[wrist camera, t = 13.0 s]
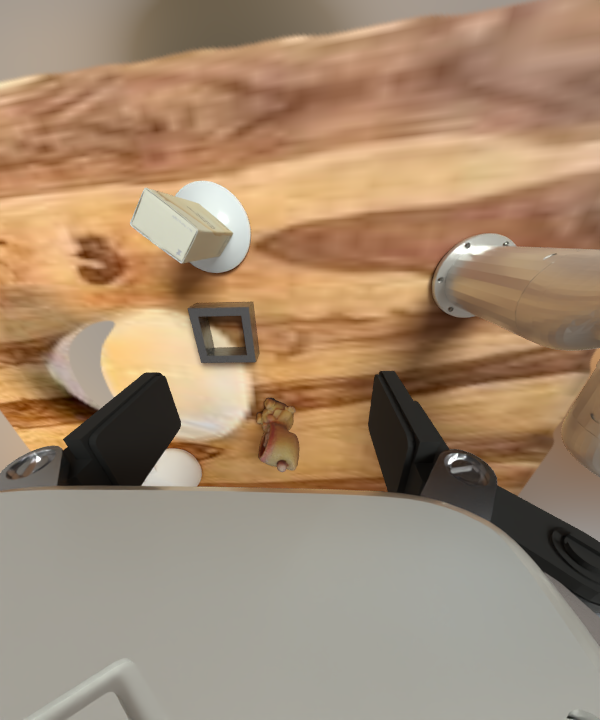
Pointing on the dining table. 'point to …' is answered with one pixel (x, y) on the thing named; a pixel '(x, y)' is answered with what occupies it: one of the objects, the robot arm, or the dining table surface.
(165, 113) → the dining table surface
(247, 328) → the socket block
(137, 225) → the skincare box
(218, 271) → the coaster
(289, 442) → the figurine
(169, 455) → the teapot
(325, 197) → the dining table surface
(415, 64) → the dining table surface
